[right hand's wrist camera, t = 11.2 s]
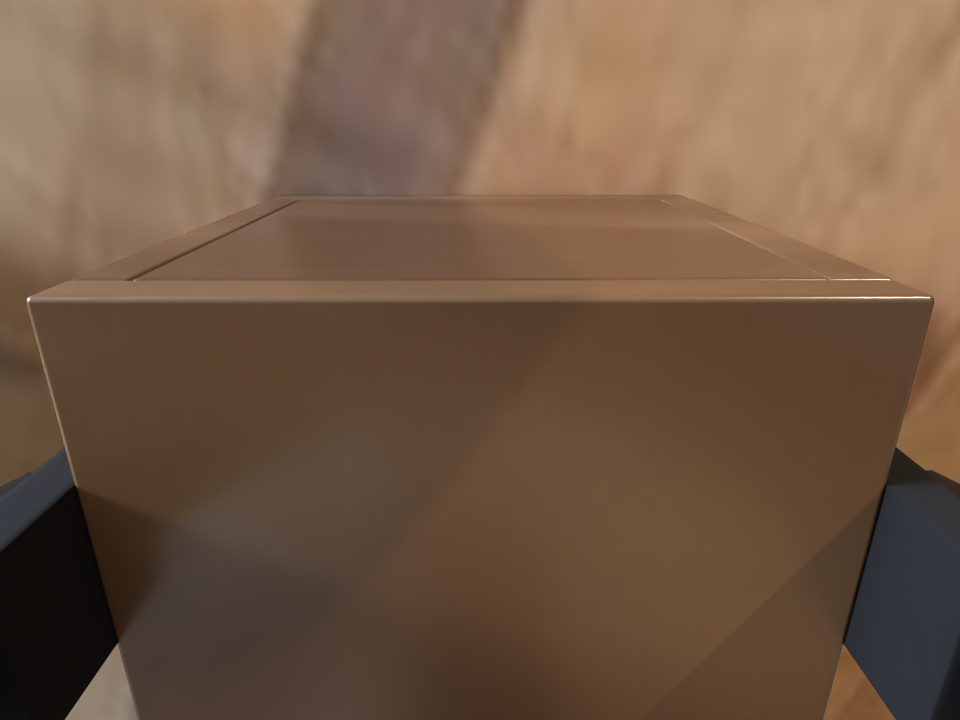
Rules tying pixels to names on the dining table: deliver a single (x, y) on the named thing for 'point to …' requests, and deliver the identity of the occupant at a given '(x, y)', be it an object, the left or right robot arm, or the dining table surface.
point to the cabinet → (480, 458)
